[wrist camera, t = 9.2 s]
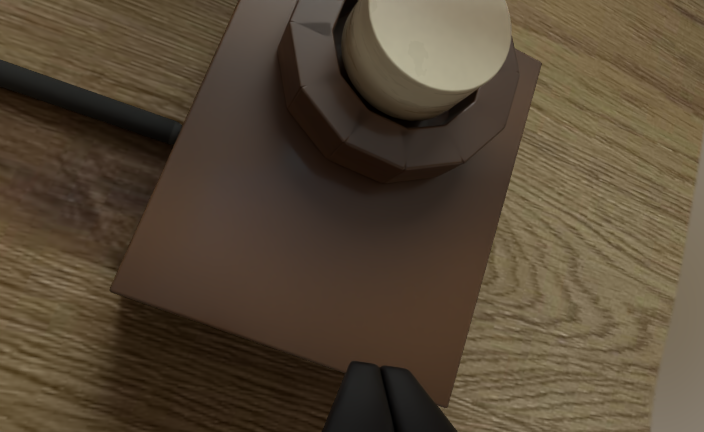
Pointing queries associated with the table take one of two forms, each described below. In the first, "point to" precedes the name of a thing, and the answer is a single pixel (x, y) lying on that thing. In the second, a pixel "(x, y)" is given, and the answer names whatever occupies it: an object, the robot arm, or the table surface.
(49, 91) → the dark brown long rod
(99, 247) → the table surface
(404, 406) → the robot arm
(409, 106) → the lamp switch
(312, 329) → the switch block
